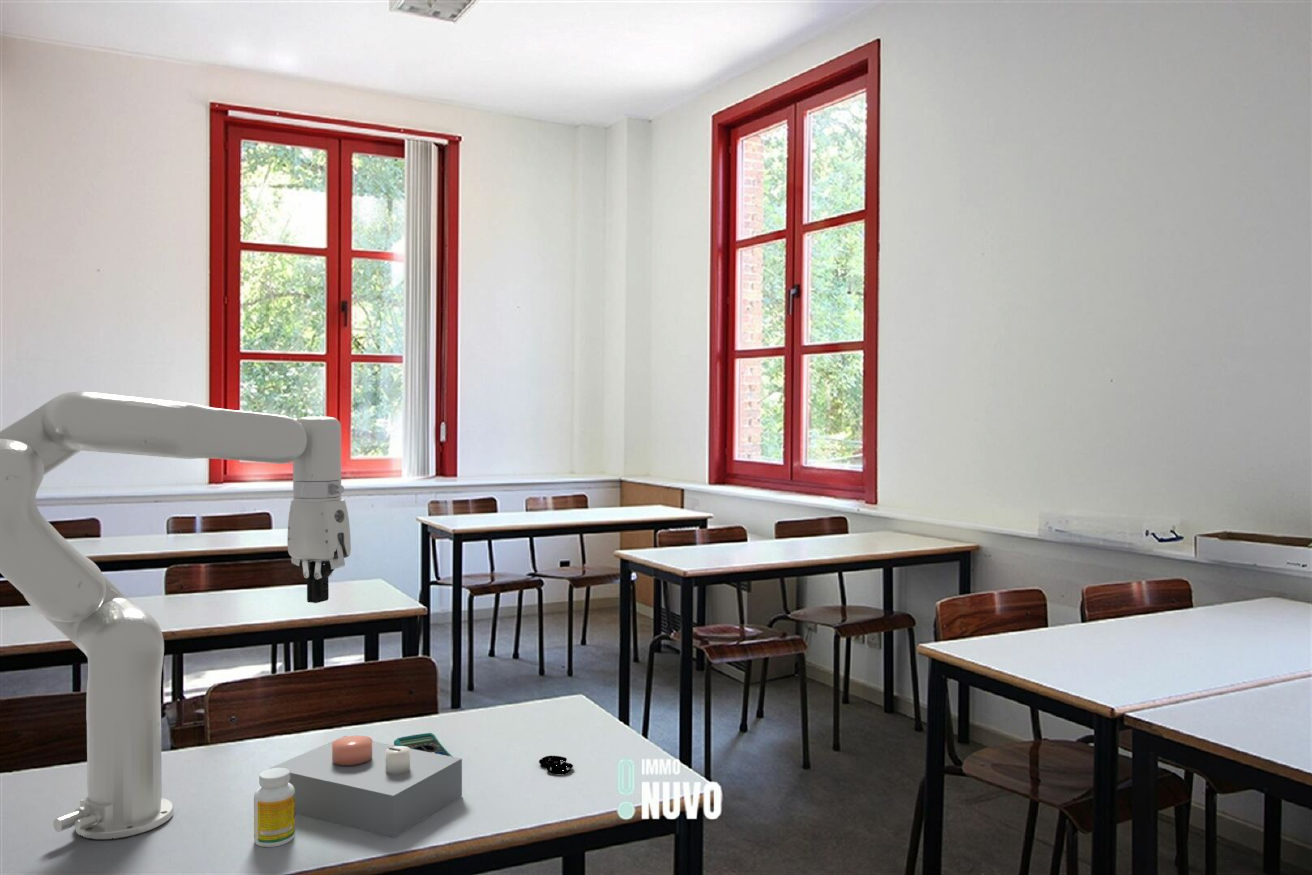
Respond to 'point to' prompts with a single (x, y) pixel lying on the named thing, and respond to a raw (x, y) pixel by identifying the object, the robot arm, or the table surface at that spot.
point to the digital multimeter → (422, 743)
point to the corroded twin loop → (553, 764)
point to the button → (352, 750)
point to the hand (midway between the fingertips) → (317, 601)
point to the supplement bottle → (274, 808)
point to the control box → (373, 788)
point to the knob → (397, 759)
